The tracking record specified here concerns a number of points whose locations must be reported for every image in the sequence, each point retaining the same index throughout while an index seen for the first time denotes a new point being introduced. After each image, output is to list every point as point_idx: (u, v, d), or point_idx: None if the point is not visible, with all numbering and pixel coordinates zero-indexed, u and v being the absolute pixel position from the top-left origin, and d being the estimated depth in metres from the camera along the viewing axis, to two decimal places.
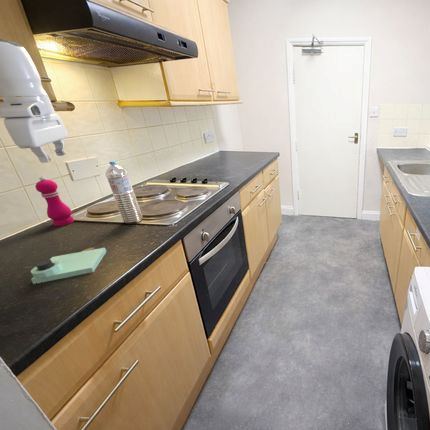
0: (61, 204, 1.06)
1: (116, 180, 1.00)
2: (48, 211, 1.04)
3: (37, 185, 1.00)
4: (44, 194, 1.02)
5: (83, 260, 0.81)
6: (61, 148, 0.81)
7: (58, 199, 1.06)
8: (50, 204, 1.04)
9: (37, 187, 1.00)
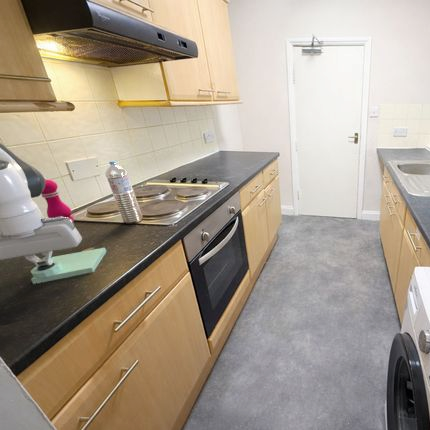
0: (61, 204, 1.06)
1: (116, 180, 1.00)
2: (48, 211, 1.04)
3: None
4: (44, 194, 1.02)
5: (83, 260, 0.81)
6: (44, 259, 0.75)
7: (58, 199, 1.06)
8: (50, 204, 1.04)
9: None
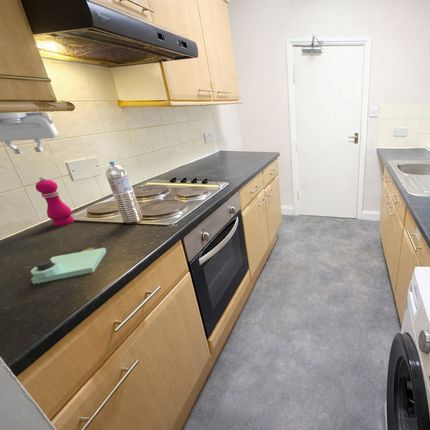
0: (61, 204, 1.06)
1: (116, 180, 1.00)
2: (48, 211, 1.04)
3: (37, 185, 1.00)
4: (44, 194, 1.02)
5: (83, 260, 0.81)
6: None
7: (58, 199, 1.06)
8: (50, 204, 1.04)
9: (37, 187, 1.00)
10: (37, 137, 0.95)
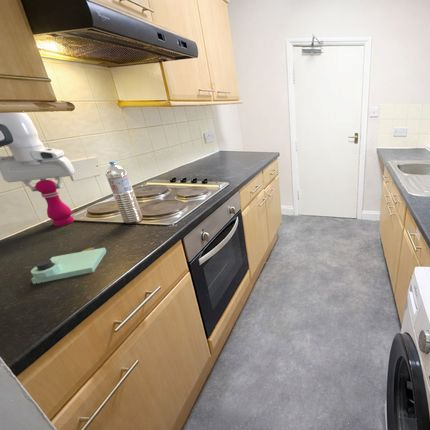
0: (61, 204, 1.06)
1: (116, 180, 1.00)
2: (48, 211, 1.04)
3: (37, 185, 1.00)
4: (44, 194, 1.02)
5: (83, 260, 0.81)
6: None
7: (58, 199, 1.06)
8: (50, 204, 1.04)
9: (37, 187, 1.00)
10: None
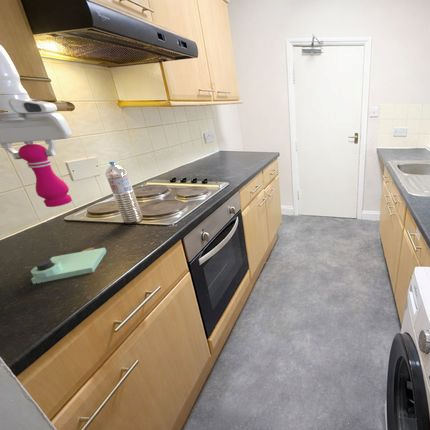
0: (54, 178, 0.80)
1: (116, 180, 1.00)
2: (36, 186, 0.78)
3: (21, 150, 0.74)
4: (31, 163, 0.76)
5: (83, 260, 0.81)
6: (16, 151, 0.76)
7: (50, 171, 0.79)
8: (39, 176, 0.78)
9: (21, 153, 0.74)
10: None
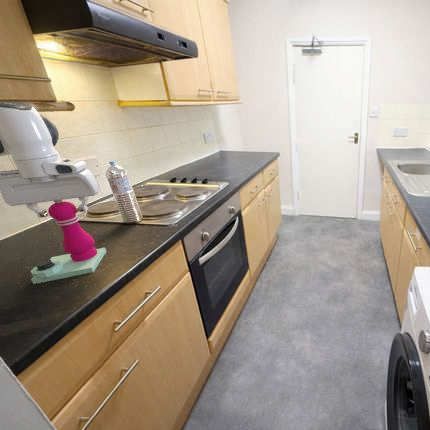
0: (82, 233, 0.80)
1: (116, 180, 1.00)
2: (64, 243, 0.78)
3: (51, 210, 0.74)
4: (60, 221, 0.76)
5: None
6: (41, 209, 0.75)
7: (78, 226, 0.79)
8: (67, 233, 0.78)
9: (51, 212, 0.74)
10: None
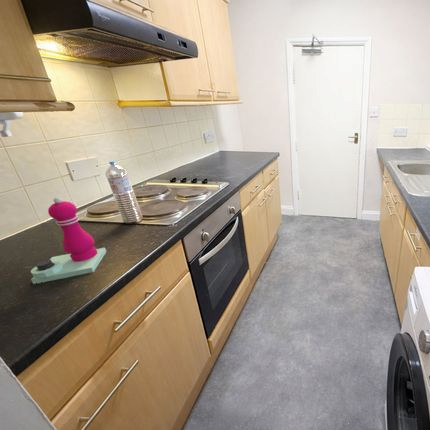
0: (82, 233, 0.80)
1: (116, 180, 1.00)
2: (64, 243, 0.78)
3: (51, 210, 0.74)
4: (60, 221, 0.76)
5: None
6: None
7: (78, 226, 0.79)
8: (67, 233, 0.78)
9: (51, 212, 0.74)
10: None
